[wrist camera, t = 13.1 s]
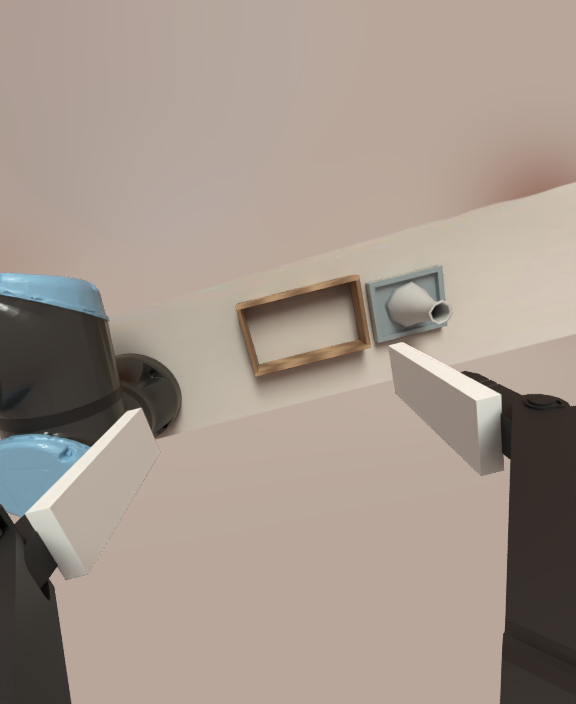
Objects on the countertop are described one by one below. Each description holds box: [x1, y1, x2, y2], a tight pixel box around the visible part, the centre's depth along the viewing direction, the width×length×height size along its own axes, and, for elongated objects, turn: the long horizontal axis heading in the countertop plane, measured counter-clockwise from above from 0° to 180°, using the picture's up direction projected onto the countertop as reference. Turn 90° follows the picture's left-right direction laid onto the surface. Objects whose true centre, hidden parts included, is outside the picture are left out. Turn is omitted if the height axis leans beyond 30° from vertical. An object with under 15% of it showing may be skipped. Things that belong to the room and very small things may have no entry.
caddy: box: [235, 275, 371, 376], centre depth 48 cm, size 19×12×4 cm, turn 104°
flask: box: [385, 281, 453, 327], centre depth 44 cm, size 7×7×10 cm
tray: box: [365, 266, 447, 343], centre depth 49 cm, size 12×10×2 cm
